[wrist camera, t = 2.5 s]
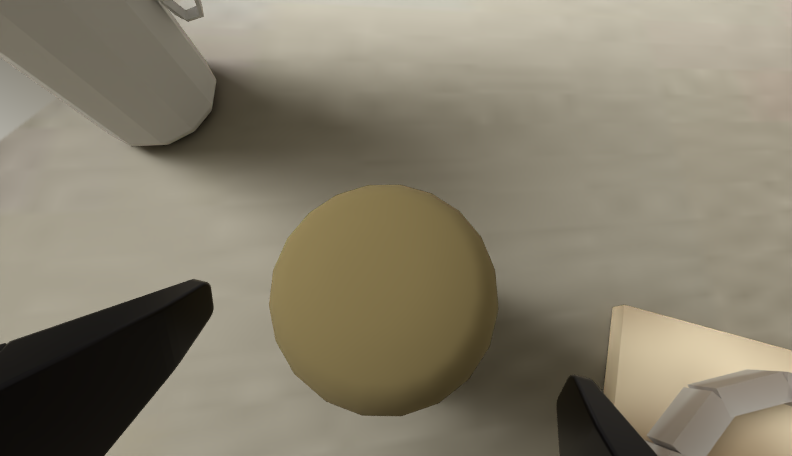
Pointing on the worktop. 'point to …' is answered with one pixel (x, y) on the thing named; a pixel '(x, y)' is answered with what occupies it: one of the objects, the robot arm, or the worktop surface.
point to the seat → (698, 387)
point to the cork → (384, 300)
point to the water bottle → (113, 63)
